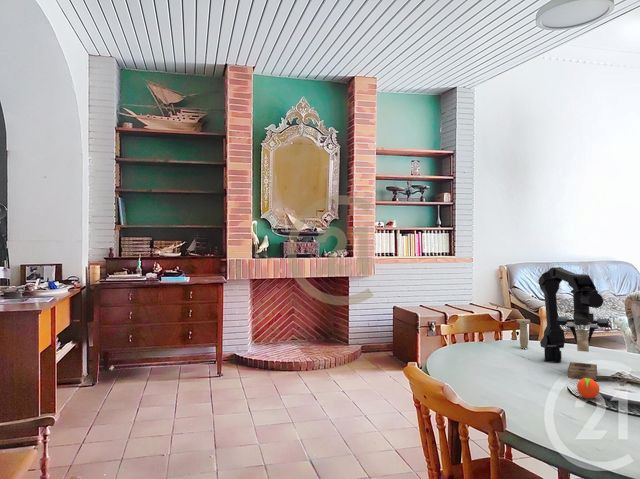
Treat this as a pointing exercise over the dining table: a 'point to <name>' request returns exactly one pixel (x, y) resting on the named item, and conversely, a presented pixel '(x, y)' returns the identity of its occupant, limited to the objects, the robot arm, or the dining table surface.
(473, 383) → the dining table surface
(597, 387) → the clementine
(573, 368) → the socket block
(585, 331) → the peg
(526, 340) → the handle
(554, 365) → the dining table surface
